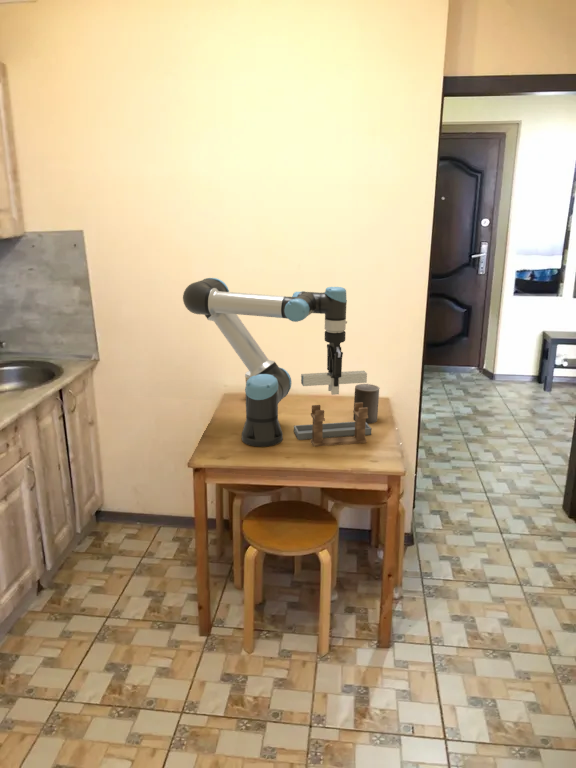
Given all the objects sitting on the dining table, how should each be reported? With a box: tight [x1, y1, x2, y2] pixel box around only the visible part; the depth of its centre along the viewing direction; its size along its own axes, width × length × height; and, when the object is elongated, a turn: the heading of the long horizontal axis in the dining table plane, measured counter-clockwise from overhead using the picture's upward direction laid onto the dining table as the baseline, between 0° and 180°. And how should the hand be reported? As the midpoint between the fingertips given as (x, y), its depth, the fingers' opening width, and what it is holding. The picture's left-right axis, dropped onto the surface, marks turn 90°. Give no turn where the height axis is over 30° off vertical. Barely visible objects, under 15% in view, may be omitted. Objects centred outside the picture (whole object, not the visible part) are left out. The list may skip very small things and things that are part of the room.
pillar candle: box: [352, 383, 380, 425], centre depth 245 cm, size 10×10×15 cm
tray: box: [293, 421, 372, 441], centre depth 233 cm, size 28×8×2 cm, turn 101°
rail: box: [300, 370, 368, 387], centre depth 226 cm, size 24×4×4 cm, turn 101°
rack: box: [310, 402, 368, 447], centre depth 222 cm, size 20×7×14 cm, turn 101°
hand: (333, 392), depth 228 cm, fingers closed on rail, 4 cm apart
